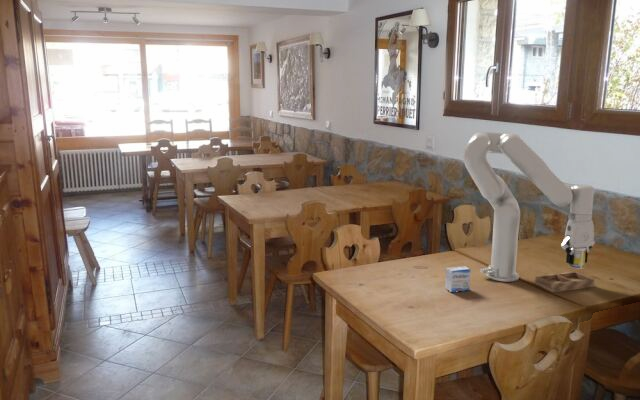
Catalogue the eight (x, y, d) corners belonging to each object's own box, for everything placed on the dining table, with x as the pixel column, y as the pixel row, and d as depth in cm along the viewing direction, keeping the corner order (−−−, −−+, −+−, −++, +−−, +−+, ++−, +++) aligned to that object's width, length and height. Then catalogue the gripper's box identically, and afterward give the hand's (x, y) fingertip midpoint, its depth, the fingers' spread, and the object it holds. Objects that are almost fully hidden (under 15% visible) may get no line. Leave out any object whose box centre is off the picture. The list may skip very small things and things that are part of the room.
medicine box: (450, 293, 192) (451, 271, 190) (444, 288, 196) (445, 267, 194) (469, 290, 194) (470, 269, 192) (463, 286, 198) (464, 265, 196)
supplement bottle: (578, 264, 201) (580, 239, 199) (587, 269, 196) (589, 243, 194) (565, 265, 201) (567, 240, 199) (573, 270, 196) (575, 244, 193)
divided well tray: (552, 292, 192) (552, 284, 191) (535, 283, 201) (535, 276, 200) (593, 286, 197) (594, 279, 196) (575, 278, 206) (575, 271, 205)
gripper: (569, 221, 189) (565, 268, 192) (606, 217, 193) (602, 263, 197) (554, 216, 196) (551, 262, 199) (591, 213, 200) (587, 257, 204)
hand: (576, 262), depth 198 cm, fingers closed on supplement bottle, 5 cm apart
